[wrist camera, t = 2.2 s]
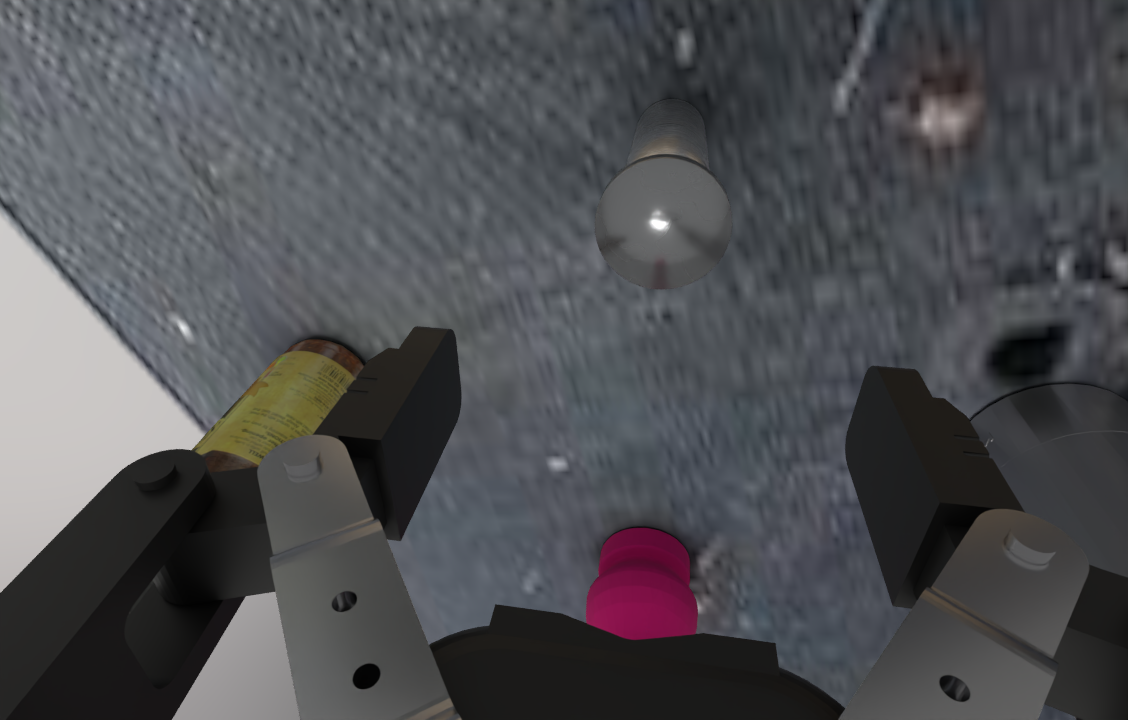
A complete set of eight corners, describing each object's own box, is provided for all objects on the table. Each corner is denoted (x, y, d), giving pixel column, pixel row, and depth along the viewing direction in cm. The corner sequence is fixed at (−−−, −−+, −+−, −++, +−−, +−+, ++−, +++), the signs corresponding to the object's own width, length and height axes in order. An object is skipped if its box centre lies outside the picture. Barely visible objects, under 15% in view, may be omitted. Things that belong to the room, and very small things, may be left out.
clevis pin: (722, 88, 28) (742, 163, 18) (710, 182, 31) (721, 294, 21) (627, 85, 29) (597, 155, 19) (622, 177, 31) (592, 284, 21)
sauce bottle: (278, 325, 39) (-16, 596, 23) (375, 343, 39) (147, 633, 22) (292, 408, 43) (46, 694, 27) (381, 426, 43) (187, 727, 26)
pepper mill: (713, 542, 43) (731, 909, 27) (673, 602, 47) (666, 954, 31) (613, 508, 43) (568, 857, 27) (581, 571, 47) (524, 909, 31)
